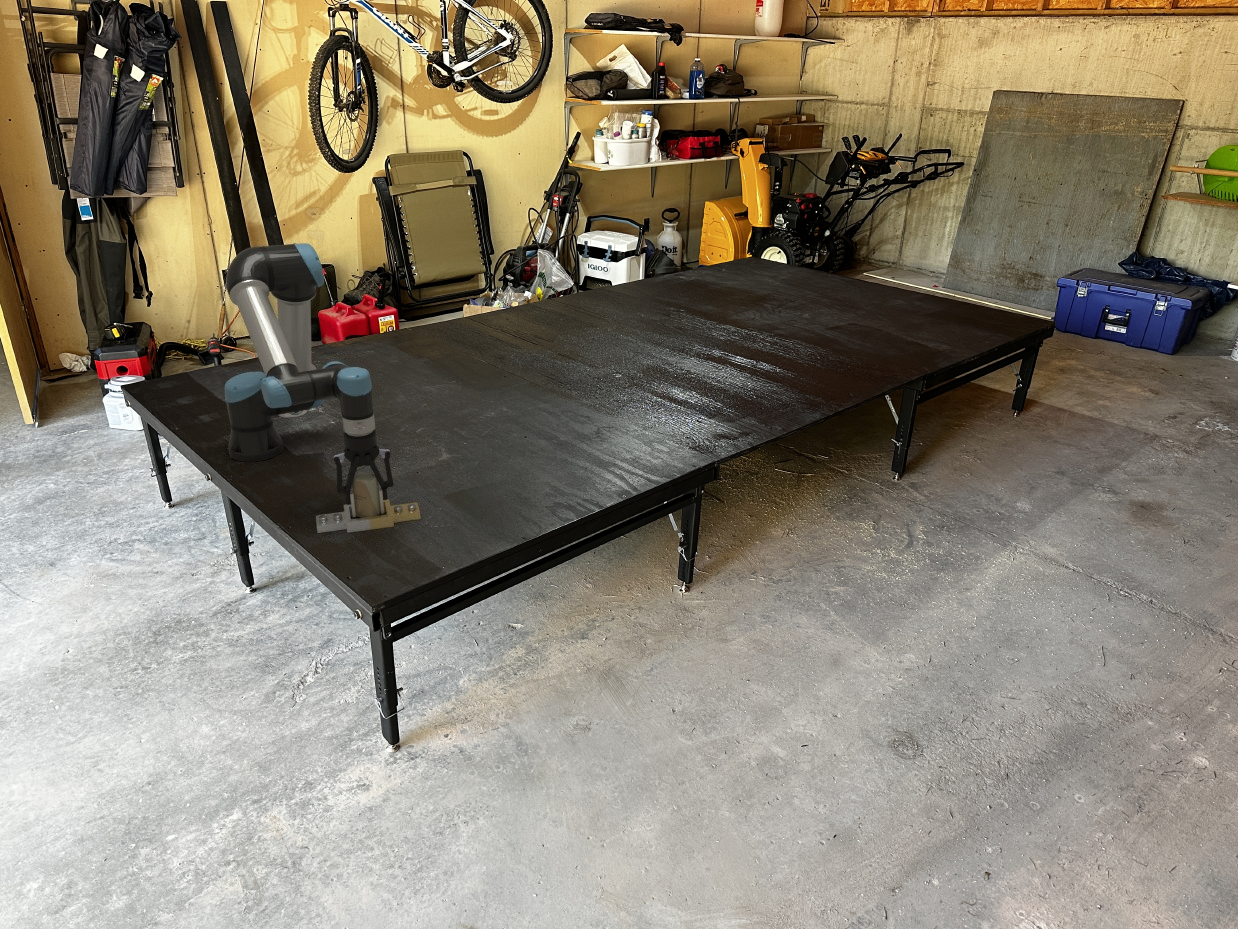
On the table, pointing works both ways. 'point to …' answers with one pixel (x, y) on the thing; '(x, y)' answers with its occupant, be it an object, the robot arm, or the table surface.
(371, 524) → the link
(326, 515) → the link
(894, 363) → the table surface
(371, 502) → the box
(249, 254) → the robot arm
